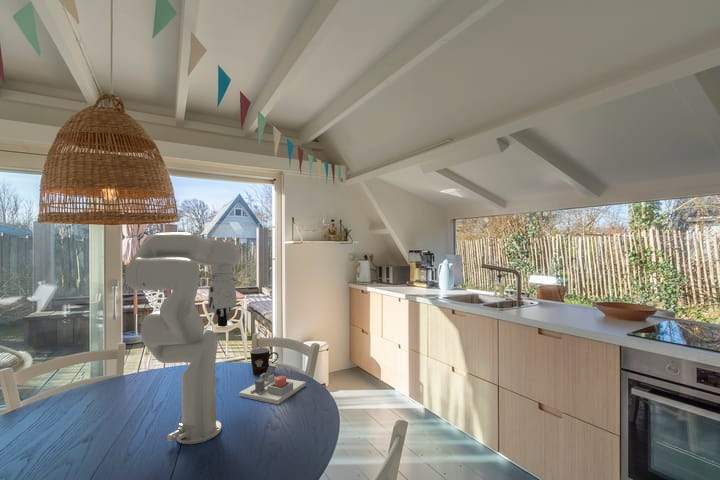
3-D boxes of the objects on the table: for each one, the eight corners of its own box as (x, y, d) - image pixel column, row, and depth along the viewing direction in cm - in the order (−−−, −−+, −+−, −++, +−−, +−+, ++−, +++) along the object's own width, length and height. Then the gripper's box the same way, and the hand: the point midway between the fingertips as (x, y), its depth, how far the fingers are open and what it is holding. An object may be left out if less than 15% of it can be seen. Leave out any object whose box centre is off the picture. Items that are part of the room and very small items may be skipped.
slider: (260, 392, 132) (260, 382, 132) (255, 391, 133) (255, 381, 133) (264, 390, 134) (264, 379, 134) (259, 389, 135) (259, 379, 135)
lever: (268, 379, 143) (275, 364, 147) (262, 378, 144) (270, 363, 148) (270, 380, 144) (277, 365, 148) (264, 379, 145) (271, 364, 149)
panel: (277, 404, 126) (277, 393, 126) (239, 396, 133) (239, 385, 133) (305, 385, 142) (305, 375, 142) (270, 379, 150) (270, 370, 150)
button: (281, 393, 131) (281, 380, 131) (272, 391, 133) (272, 379, 133) (288, 388, 135) (288, 376, 135) (279, 386, 137) (279, 375, 137)
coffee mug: (246, 375, 155) (246, 352, 155) (257, 368, 163) (257, 347, 163) (269, 377, 152) (269, 354, 152) (279, 370, 160) (279, 348, 160)
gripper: (213, 280, 125) (214, 331, 125) (243, 276, 139) (244, 322, 138) (198, 279, 128) (199, 329, 128) (229, 275, 142) (230, 321, 141)
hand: (222, 325), depth 133 cm, fingers closed
